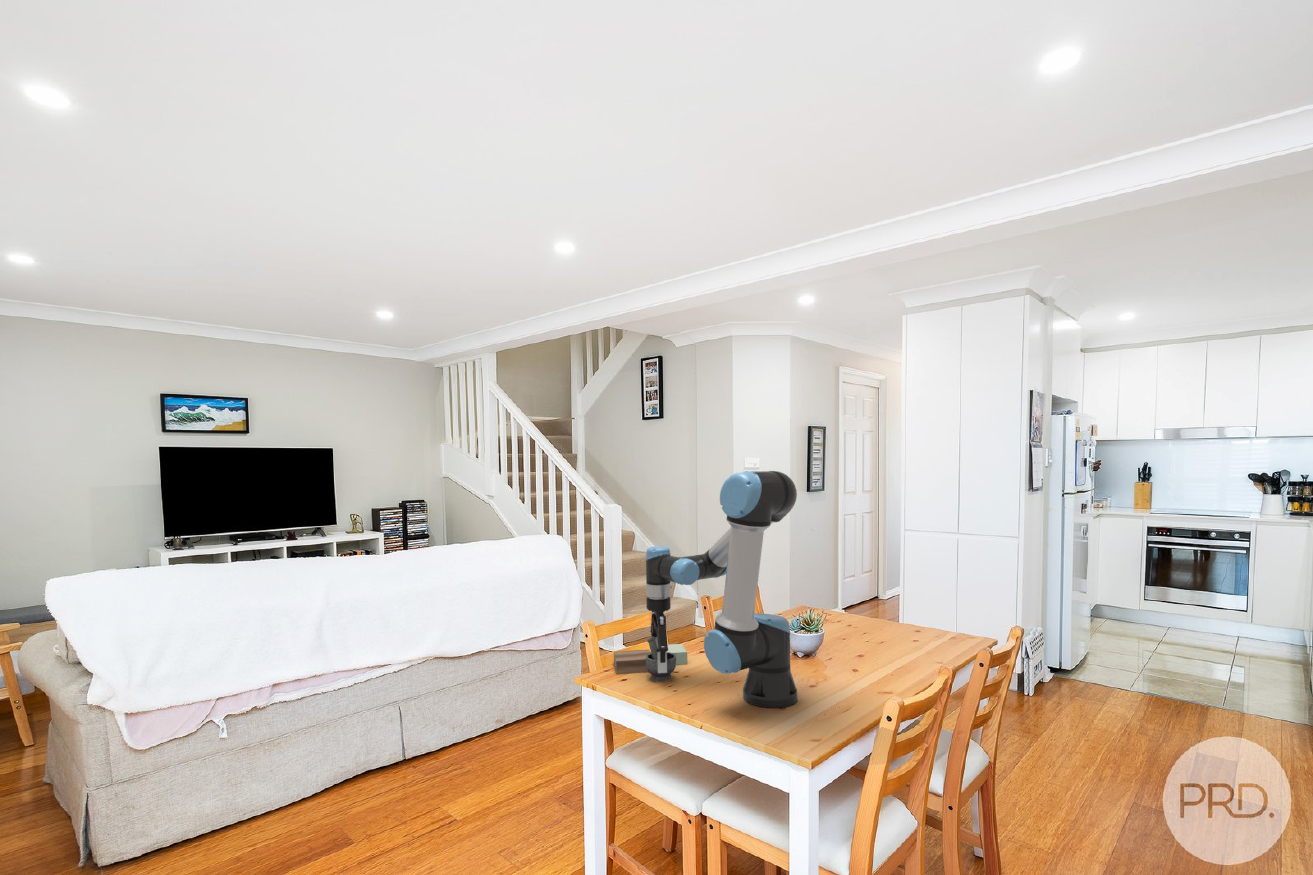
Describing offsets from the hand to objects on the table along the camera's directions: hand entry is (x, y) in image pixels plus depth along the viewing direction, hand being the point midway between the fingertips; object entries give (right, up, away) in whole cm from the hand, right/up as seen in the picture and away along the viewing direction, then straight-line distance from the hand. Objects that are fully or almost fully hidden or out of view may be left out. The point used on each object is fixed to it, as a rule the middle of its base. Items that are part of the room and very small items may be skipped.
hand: (659, 665), depth 200 cm
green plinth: (+4, -5, +17) cm, 18 cm away
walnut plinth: (-8, -5, +10) cm, 14 cm away
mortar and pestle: (0, -4, -1) cm, 4 cm away
